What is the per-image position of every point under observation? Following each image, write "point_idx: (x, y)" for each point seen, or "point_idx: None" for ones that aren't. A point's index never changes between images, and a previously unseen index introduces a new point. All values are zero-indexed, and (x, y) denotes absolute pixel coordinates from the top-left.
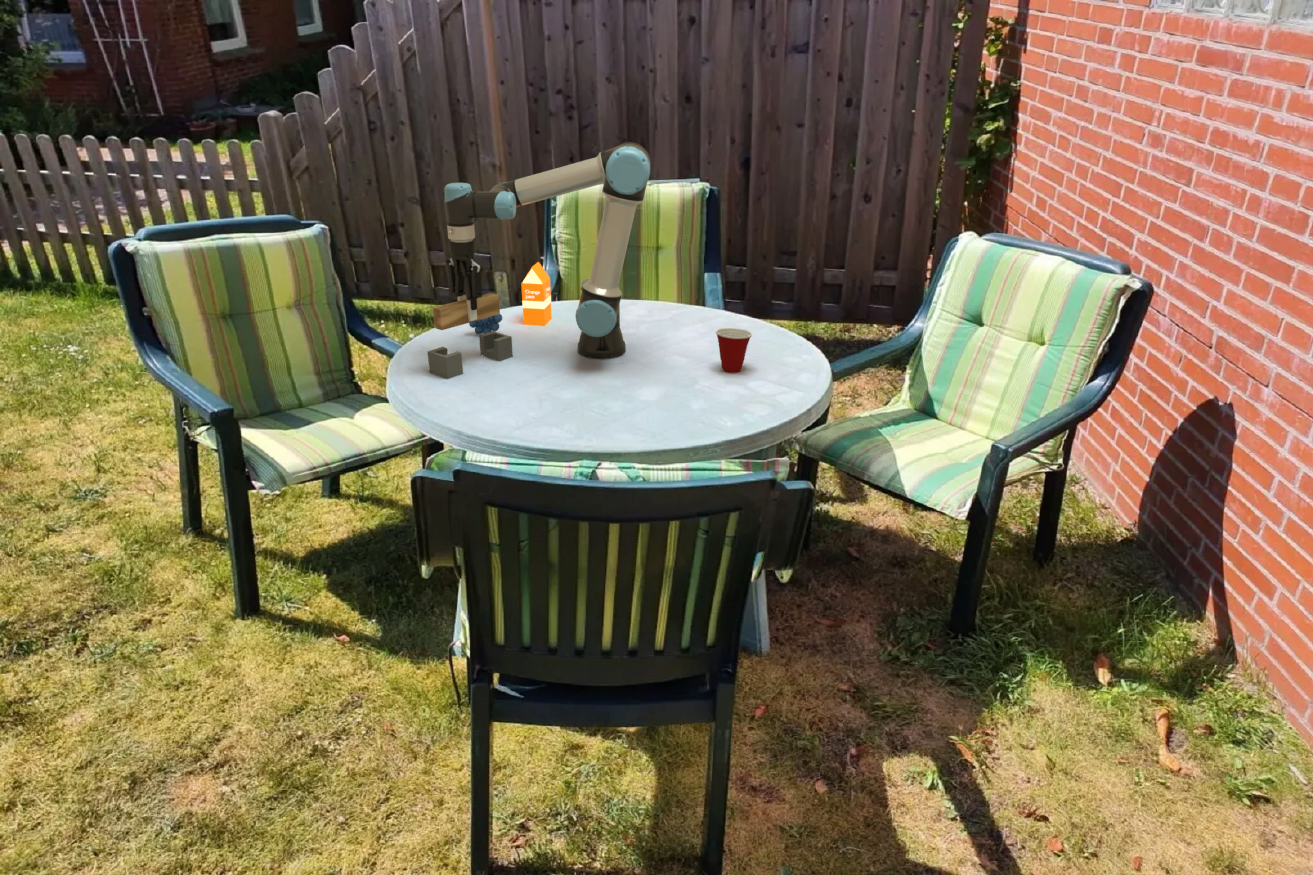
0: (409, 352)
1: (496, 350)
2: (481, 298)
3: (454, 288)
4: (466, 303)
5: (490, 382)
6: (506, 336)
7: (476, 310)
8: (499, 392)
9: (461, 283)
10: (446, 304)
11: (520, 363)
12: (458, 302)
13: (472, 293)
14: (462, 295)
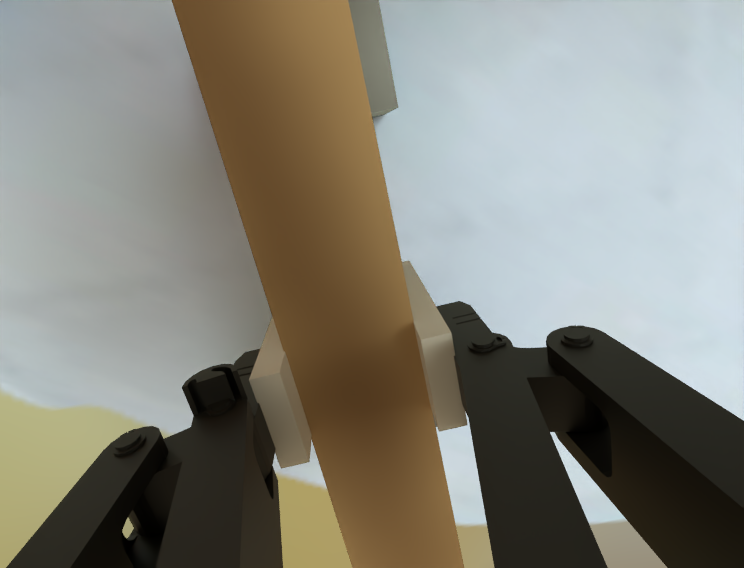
0: (58, 373)
1: (376, 114)
2: (366, 205)
3: (152, 522)
4: (430, 411)
5: (569, 268)
6: (354, 9)
7: (421, 284)
8: (669, 288)
9: (264, 559)
10: (359, 559)
11: (472, 42)
12: (364, 463)
13: (580, 463)
14: (262, 409)
